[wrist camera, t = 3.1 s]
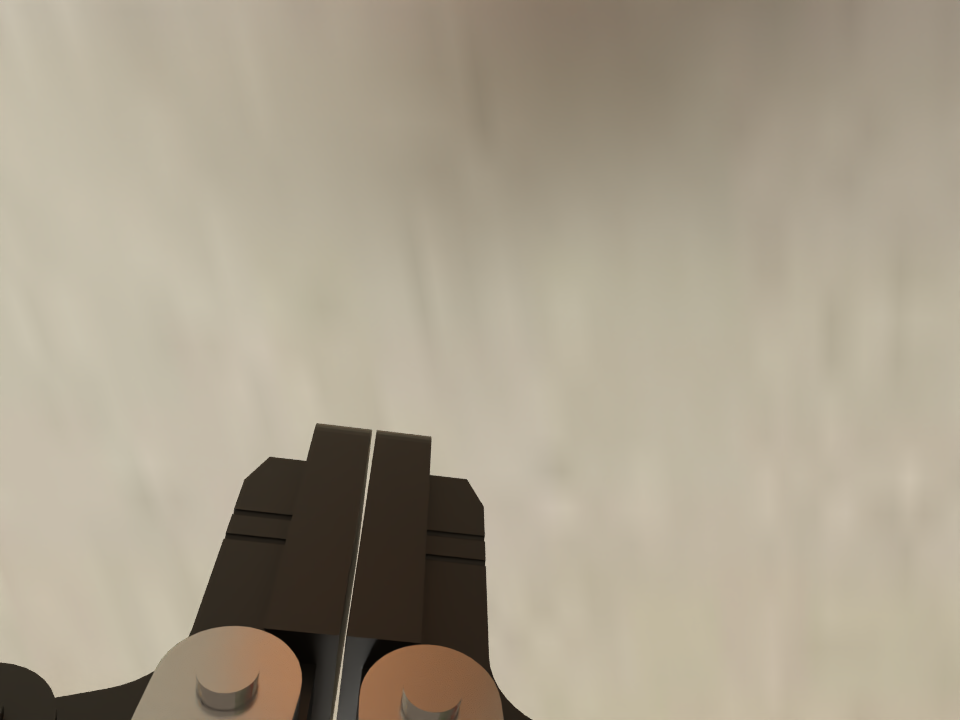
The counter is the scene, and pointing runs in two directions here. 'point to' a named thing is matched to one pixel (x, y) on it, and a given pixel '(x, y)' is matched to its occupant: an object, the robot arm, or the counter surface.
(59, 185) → the counter surface
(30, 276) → the counter surface
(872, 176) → the counter surface
